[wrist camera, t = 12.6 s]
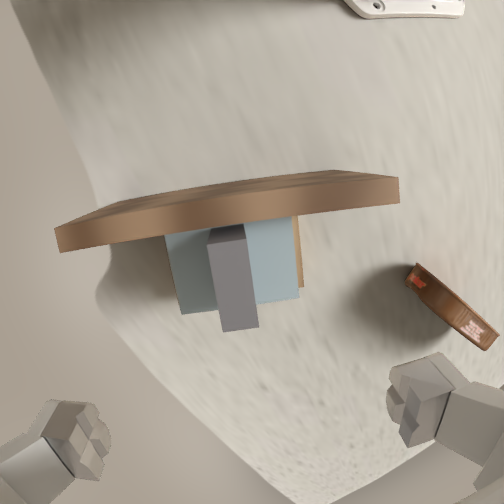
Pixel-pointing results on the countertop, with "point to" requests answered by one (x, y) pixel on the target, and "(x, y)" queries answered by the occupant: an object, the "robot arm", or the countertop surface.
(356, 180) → the brown wooden piece
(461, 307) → the tin
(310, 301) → the countertop surface
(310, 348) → the countertop surface
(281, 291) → the blue block with handle
